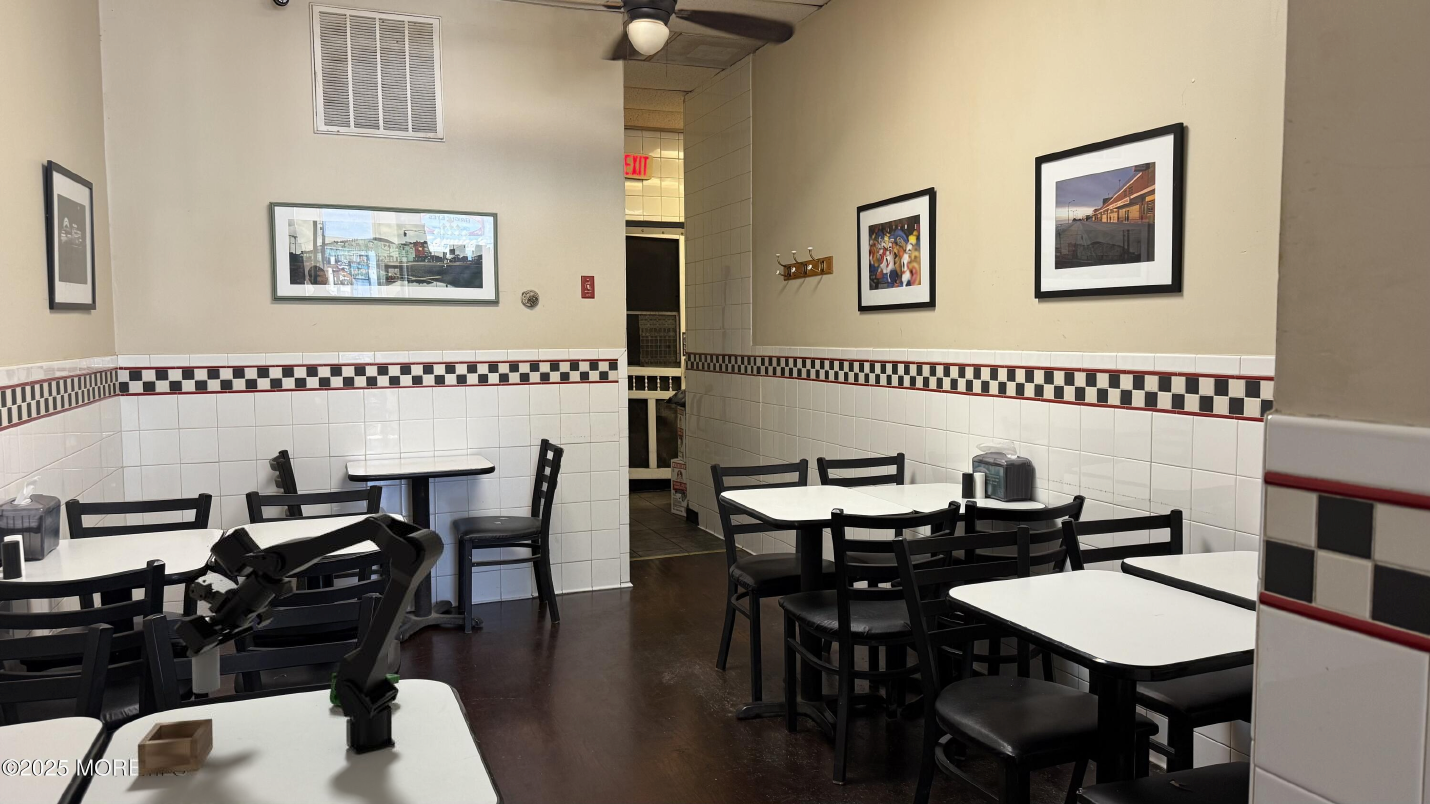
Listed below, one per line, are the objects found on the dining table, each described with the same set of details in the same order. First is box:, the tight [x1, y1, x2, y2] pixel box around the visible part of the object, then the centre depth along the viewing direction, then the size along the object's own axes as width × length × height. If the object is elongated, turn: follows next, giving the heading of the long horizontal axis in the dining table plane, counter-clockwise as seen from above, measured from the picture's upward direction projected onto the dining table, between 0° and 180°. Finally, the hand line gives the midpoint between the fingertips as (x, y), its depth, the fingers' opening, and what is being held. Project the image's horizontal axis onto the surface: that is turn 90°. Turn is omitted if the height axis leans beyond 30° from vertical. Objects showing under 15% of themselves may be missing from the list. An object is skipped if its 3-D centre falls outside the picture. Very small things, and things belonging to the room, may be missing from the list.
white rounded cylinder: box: [191, 617, 221, 694], centre depth 163 cm, size 4×4×12 cm
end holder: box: [137, 718, 214, 776], centre depth 150 cm, size 8×8×5 cm
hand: (198, 651), depth 164 cm, fingers closed on white rounded cylinder, 4 cm apart
